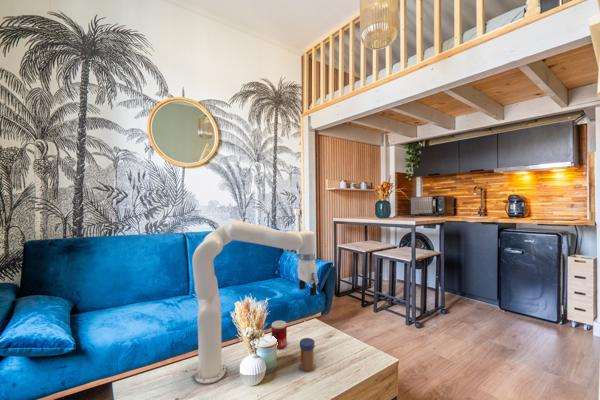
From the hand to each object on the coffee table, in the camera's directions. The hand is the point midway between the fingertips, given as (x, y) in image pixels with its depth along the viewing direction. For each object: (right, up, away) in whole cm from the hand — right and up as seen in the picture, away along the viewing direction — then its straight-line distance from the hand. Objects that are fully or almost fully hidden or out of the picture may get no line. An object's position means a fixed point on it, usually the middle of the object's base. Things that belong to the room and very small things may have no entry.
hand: (307, 292), depth 133 cm
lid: (-1, -19, -9) cm, 22 cm away
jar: (0, -31, -9) cm, 32 cm away
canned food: (-14, -30, +9) cm, 35 cm away
